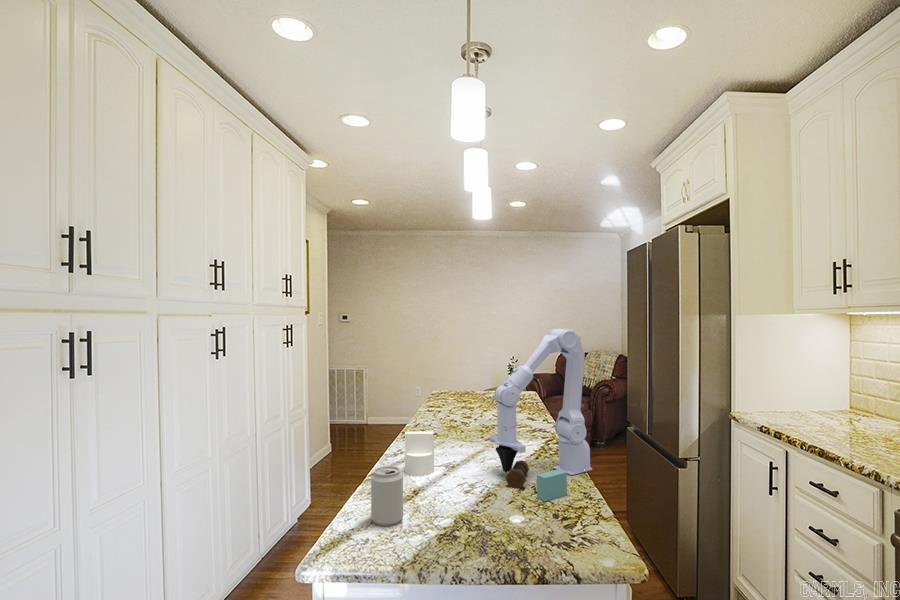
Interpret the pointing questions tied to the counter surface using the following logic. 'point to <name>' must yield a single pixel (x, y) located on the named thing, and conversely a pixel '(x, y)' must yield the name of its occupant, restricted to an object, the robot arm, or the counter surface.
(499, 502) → the counter surface
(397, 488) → the can
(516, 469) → the bolt
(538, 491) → the teal rectangular block
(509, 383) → the robot arm
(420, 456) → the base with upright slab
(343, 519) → the counter surface
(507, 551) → the counter surface
